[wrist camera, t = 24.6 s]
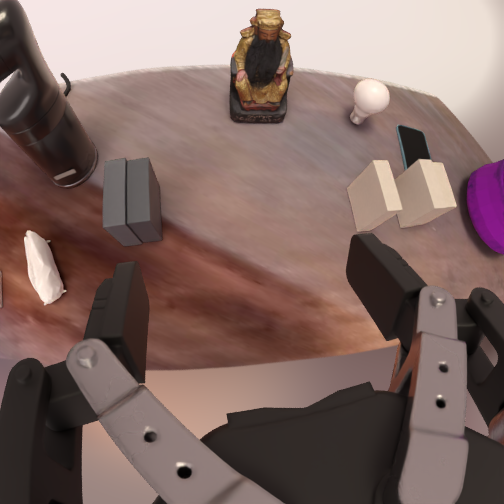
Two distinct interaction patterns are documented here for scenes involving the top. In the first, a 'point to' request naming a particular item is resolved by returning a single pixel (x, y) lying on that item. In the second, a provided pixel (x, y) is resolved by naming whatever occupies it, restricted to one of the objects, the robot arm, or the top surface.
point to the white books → (423, 193)
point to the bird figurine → (42, 268)
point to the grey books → (131, 201)
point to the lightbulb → (369, 99)
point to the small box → (0, 289)
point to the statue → (261, 70)
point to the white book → (374, 196)
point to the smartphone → (412, 145)
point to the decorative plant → (488, 204)
